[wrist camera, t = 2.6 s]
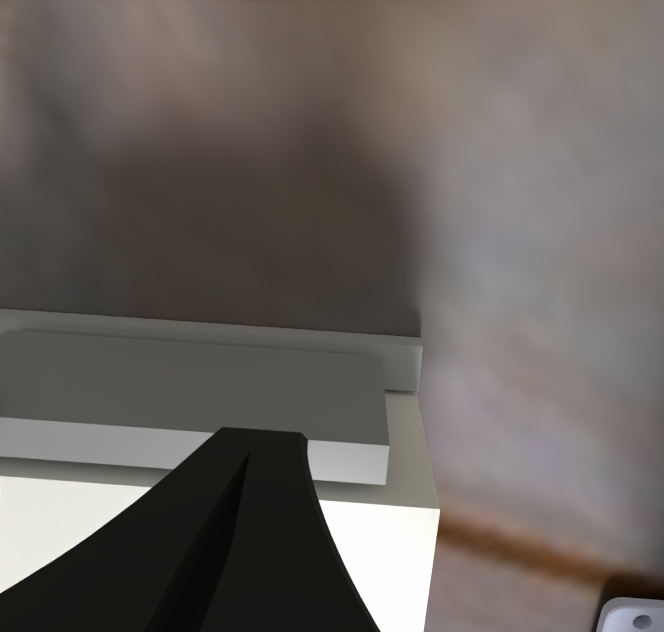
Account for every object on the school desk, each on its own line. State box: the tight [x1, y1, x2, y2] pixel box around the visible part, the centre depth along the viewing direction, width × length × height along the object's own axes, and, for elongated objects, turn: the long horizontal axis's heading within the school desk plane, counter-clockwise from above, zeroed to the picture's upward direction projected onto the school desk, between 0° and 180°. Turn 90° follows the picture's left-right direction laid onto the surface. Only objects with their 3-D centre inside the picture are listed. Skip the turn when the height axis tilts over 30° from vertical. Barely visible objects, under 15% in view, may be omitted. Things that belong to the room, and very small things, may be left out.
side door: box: [0, 330, 389, 485], centre depth 11 cm, size 9×1×7 cm, turn 87°
